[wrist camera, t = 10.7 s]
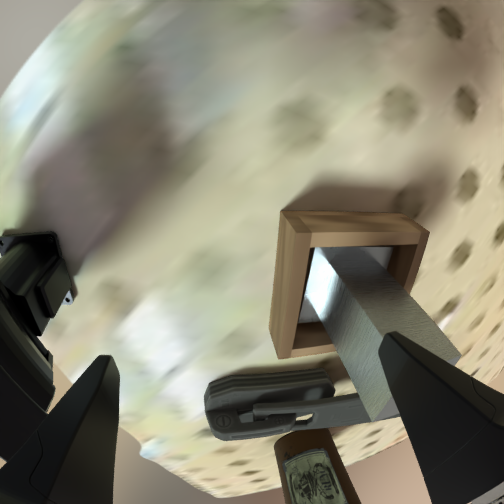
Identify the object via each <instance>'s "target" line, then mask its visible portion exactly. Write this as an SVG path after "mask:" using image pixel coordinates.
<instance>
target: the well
mask: <svg viewBox="0 0 504 504" xmlns="http://www.w3.org/2000/svg"><path fill="white" fill-rule="evenodd" d="M429 234H430V232H429V231H428V230H426V229H425V228H423V227H422V226H421V225H419V224H418V223H416V222H415V221H413V220H412V219H410V218H409V217H407V216H406V215H404V214H400V213H375V212H337V211H280V222H279V233H278V244H277V254H276V264H275V274H274V284H273V294H272V303H271V312H270V321H269V331H270V334H271V338H272V341H273V344H274V347H275V350H276V354H277V357H278V359H286V358H294V357H301V356H308V355H315V354H322V353H328V352H334V351H336V349H335V347H334V345H333V343H332V341H331V339H330V337H329V335H328V333H327V332H326V330H325V328H324V326H323V324H322V322H321V321H319V322H307V323H298V322H297V321H298V316H299V311H300V305H301V299H302V294H303V288H304V282H305V276H306V270H307V264H308V257H309V251H310V248H311V247H342V246H375V245H392V246H393V247H394V248H393V251H392V254H391V258H390V261H389V264H388V267H387V271H388V272H389V273H390V274H391V276H392V277H393V278H394V279H395V280H396V281H397V282H398V283H399V284H400V285H401V286H402V287H403V288H404V289H405V290H406V291H407V292H408V294H409V295H410V292H411V289H412V287H413V284H414V281H415V278H416V275H417V273H418V270H419V267H420V264H421V261H422V257H423V254H424V251H425V248H426V244H427V241H428V237H429Z"/></svg>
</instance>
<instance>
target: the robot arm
mask: <svg viewBox="0 0 504 504" xmlns="http://www.w3.org/2000/svg"><path fill="white" fill-rule="evenodd" d="M50 237H52V239H53V240H51V239H50ZM2 241H3V243H2ZM0 253H1V256H2V257H1V258H0V458H1V459H3V460H4V461H6V462H7V463H6V464H5V465H4V466H3V467H2V468H1V469H0V504H113V482H114V466H115V465H114V464H115V453H116V443H117V433H118V424H119V388H120V374H119V371H118V368H117V366H116V363H115V361H114V359H113V357H112V356H111V355H99V356H98V357H97V358H96V359H95V360H94V361H93V362H92V364H91V365H90V366H89V367H88V368H87V369H86V370H85V372H84V373H83V374H82V375H81V376H80V377H79V378H78V380H77V381H76V382H75V383H74V384H73V385H72V387H71V388H70V389H69V390H68V391H67V393H66V394H65V395H64V396H63V397H62V398H61V400H60V401H59V402H58V403H57V404H56V406H55V407H54V408H53V409H52V410H51V412H50V413H49V414H47V413H46V412H47V411H48V409H49V407H50V404H51V402H52V400H53V397H54V394H55V386H54V385H53V371H52V367H53V355H52V354H51V353H50V351H49V350H47V349H46V348H45V347H44V345H43V344H42V343H41V341H40V340H39V339H38V337H37V336H42V334H43V332H44V330H45V328H46V326H47V324H48V322H49V320H50V318H54V317H55V315H56V313H57V311H58V309H59V308H60V306H61V305H71V304H72V303H73V301H74V295H73V292H72V289H71V282H70V279H69V276H68V272H67V269H66V265H65V261H64V259H63V258H62V254H61V250H60V246H59V242H58V237H57V235H56V234H55V233H54V232H52V231H50V232H37V233H25V234H13V235H3V236H0ZM68 298H69V299H68ZM378 355H379V358H380V361H381V365H382V368H383V371H384V374H385V377H386V380H387V384H388V387H389V389H390V392H391V395H392V397H393V399H394V402H395V404H396V406H397V409H398V411H399V414H400V416H401V419H402V421H403V424H404V426H405V429H406V431H407V434H408V436H409V439H410V441H411V444H412V446H413V449H414V452H415V455H416V458H417V460H418V463H419V466H420V469H421V472H422V474H423V477H424V481H425V484H426V486H427V489H428V493H429V496H430V499H431V502H432V504H467V503H469V502H472V503H471V504H504V394H502V393H500V392H498V391H496V390H494V389H492V388H490V387H489V386H487V385H485V384H483V383H482V382H480V381H478V380H476V379H475V378H473V377H472V376H471V377H470V375H468V374H467V373H465V372H463V371H462V370H460V369H458V368H457V367H455V366H453V365H452V364H450V363H448V362H447V361H445V360H444V359H442V358H440V357H439V356H437V355H435V354H434V353H432V352H430V351H429V350H427V349H425V348H424V347H422V346H420V345H419V344H417V343H415V342H414V341H412V340H410V339H409V338H407V337H405V336H404V335H402V334H400V333H399V332H397V331H393V332H388V333H386V334H385V335H384V337H383V340H382V342H381V344H380V346H379V349H378Z"/></svg>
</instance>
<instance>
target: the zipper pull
mask: <svg viewBox="0 0 504 504" xmlns="http://www.w3.org/2000/svg"><path fill="white" fill-rule="evenodd" d="M334 394H335V388H334V386H333V383H332V381H331V379H330V377H329V375H328V374H327V373H326V371H325V370H324V368H316V369H308V370H299V371H289V372H279V373H266V374H249V375H231V376H228V377H226V378H223V379H220V380H217V381H214V382H211V383H209V385H208V387H207V390H206V392H205V395H204V403H205V413H206V417H207V420H208V423H209V425H210V428H211V431H212V433H213V434H214V436H215V437H216V438H218V439H220V440H223V441H232V440H243V439H252V438H260V437H267V436H272V435H277V434H282V433H286V432H290V431H294V430H306V429H318V428H329V427H338V426H347V425H354V424H361V423H368V422H372V421H371V419H370V417H369V415H368V413H367V411H366V409H365V407H364V405H363V403H362V401H361V399H360V397H359V394H358V393H353V394H347V395H342V396H336V397H333V396H334ZM312 413H313V415H312V417H310V418H309V419H307V420H297V421H296V418H297V417H301V416H305V415H308V414H312ZM396 417H400V414H396V415H393V416H390V417H387V418H384V419H381V420H386V419H391V418H396ZM378 421H380V420H378Z"/></svg>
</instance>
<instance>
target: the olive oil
mask: <svg viewBox="0 0 504 504" xmlns="http://www.w3.org/2000/svg"><path fill="white" fill-rule="evenodd" d="M274 450H275V455H276V460H277V464H278V469H279V473H280V478H281V483H282V488H283V493H284V497H285V503H286V504H361V502H360V500H359V497H358V495H357V493H356V491H355V489H354V487H353V484H352V482H351V480H350V478H349V476H348V473H347V471H346V469H345V467H344V464H343V462H342V460H341V458H340V455H339V453H338V451H337V448H336V446H335V444H334V441H333V439H332V436H331V434H330V432H329V430H328V429H326V428H318V429H306V430H299V431H296V432H293V433H290V434H288V435H286V436H284V437H282V438H281V439H279V440H278V441H277V442H276V443H275V445H274Z"/></svg>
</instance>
